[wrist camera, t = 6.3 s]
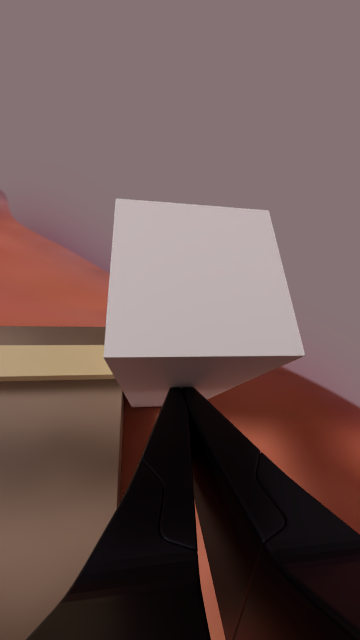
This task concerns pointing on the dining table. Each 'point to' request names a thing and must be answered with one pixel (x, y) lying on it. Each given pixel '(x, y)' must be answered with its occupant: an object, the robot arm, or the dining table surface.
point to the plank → (53, 479)
